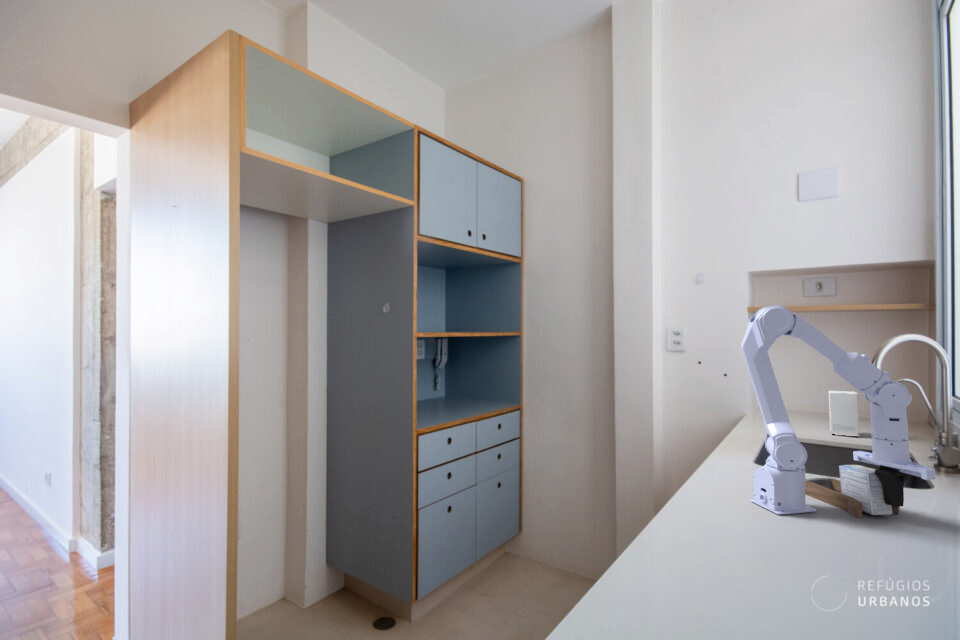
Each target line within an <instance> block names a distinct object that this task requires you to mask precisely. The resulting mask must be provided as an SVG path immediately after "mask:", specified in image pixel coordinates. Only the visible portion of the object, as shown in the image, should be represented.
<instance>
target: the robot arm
mask: <svg viewBox="0 0 960 640" xmlns="http://www.w3.org/2000/svg"><path fill="white" fill-rule="evenodd" d="M782 336H787V337H790V338H791V337H792V338H796V339H799V340H801V341H802V342H803V343H805V344H806V345H808V346H809V347H811V348H812V349H813V350H815V351H816V352H818V353H819V354H820V355H822V356H824V357H825V358H826V359H828V360H829V361H830V362H832V366H833V372H834V373H836V374H837V375H838V376H840V377H841V378H842V379H843V380H845V381H846V382H847V383H848V384H849V385H851V386H852V387H854V388H855V389H856V390H857V391H859V392H860V393H862V394H863V396H864V398H865V400H867V401H869V409H870V410H869V411H870V416H869V417H870V429H871V430H870V432H871V449H872V452H868V451H863V450H854V451H853V452H852V453H853V454H852V455H853V461H857V462H863V463H866V464H869V465H870V464H871V465H874V466H877V467H878V469H877V470H875V474H876V475H877V477H878V478H879V479H880V481H881V483H882V487H883V494H884V501H885V504H887V505H891V506H893V507H904V501H905V496H904V489H905V483H906V482H907V479H909V478H910V477H911V476H915V477H918V478H921V480H925V481H930V480H931V481H932V480H936V469H935V468H931V467H928V466H926V465H922V464H919V463H917V462H915V461H912V459H911V458H910V457H911V456H910V443H909V427H908V414H907V407H909V405H910V404H911V402H912V400H913V395H912V394H910V392H909V389H908V387H907V386H906V385H904V383H902V382H899V381H896V380H891V376H892V374H891V373H890V372H888V371H886V370H885V371H884V370H883V371H882V370H881V369H880V368H879V367H878V366H876V364H875V365H874V363H872V362H871V361H870V360H871V357H870V356H868V355H867V354H864V353H862V354H860V353H858V352H856V351H854V352H853V351H852V352H847V351H845V349H843V348H841V346H839V345H838V344H836V343H835V342H834V341H833V340H832V339H830V338H829V337H828V336H826V335H825V334H824V333H822V331H820V330H819V329H818V328H817V327H815V326H814V325H813V324H811V323H810V322H809V321H808V320H806V319H805V318H804V317H802V316H800V315H799V314H797V313H794V312H792V311H791V310H790V309H789V308H788V307H786V306H784V305H780V304H774V305H770V306H764V307H761V308H759V309H758V310H756V312H755V313H754V314H753V315H752V316H751V318H750V319H748V324H747V328H746V330H745V333H744V337H743V338H742V341H741V344H740V349H741V353H742V355H743V359H744V363H745V366H746V370H747V371H748V374H749V375H748V376H749V378H750V381H751V384H752V388H753V391H754V394H755V397H756V399H757V400H756V401H757V403H758V407H759V410H760V412H761V416H762V419H763V424H764V431H765V441H764V446H765V449H766V452H768V454H769V455H768V456H767V459H765V464H764V465H763V466H760V467H758V468H756V469H755V470H754V472H753V477H752V478H753V479H752V481H753V486H752V489H753V498H750V502H752V503H754V504H756V505H758V506H760V507H762V508H764V509H766V510H769V512H772V513H775V514H776V515H779V516H781V515H791V514H802V513H815V512H817V509H816V508H814V507H812V506H810V505H807V504H806V494H805V479H806V463H807V461H808V452H807V450H806V447H805V446H804V445H803V444H802V443H801V442H800V441H799V439H798V438H797V435H796V432H795V430H794V428H793V425H792V424H791V422H790V419H789V416H788V415H789V414H788V413H787V409H786V407H785V404H784V400H783V397H782V393H781V391H780V387H779V384H778V382H777V381H778V380H777V379H776V375H775V371H774V369H773V366H772V362H771V359H770V357H769V353H768V351H769V350H770V348H771V347H773V346H772V345H774V343H775V342H776V340H778V338H781V337H782Z"/></svg>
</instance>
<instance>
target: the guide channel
mask: <svg viewBox="0 0 960 640" xmlns="http://www.w3.org/2000/svg"><path fill="white" fill-rule="evenodd" d="M806 495H807V496H808V497H809V496H810V497H812V498H814V499H817V500H819V501H822V502H824V503H826V504H829V505H831V506H834V507H836V508H838V509H840V510H843V511H846V512H848V513H849V514H851V515H852V516H854V517H855V518H858V519H863V511H862V503H860V502H859V501H857V500H856V499H854V498H852V497H850V496H847V495H845V494H842V492H841V481H840V480H839V479H836V478H834V477H831V476H830V477H829V476H827V477H813V478H812V477H811V478H805V496H806ZM900 507H901V506H900ZM900 507H893V506H892V514H894V515H900V509H901V508H900Z"/></svg>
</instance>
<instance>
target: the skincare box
mask: <svg viewBox="0 0 960 640" xmlns="http://www.w3.org/2000/svg"><path fill="white" fill-rule="evenodd" d="M827 393H828V417H829V420H828V421H829V431H830V430H831V431H836V432H851V433H859V434H860V417H859V416H860V415H859V414H860V413H859V393H858V392H856V391H852V390H851V391H850V390H828V391H827Z"/></svg>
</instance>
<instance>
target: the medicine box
mask: <svg viewBox="0 0 960 640" xmlns="http://www.w3.org/2000/svg"><path fill="white" fill-rule="evenodd" d="M838 468H839V469H838V470H839V478H840V481H841V492H842V494H845V495H847V496H850V497H852V498H854V499H856V500H857V501H859V502H860V503H862V513H863V512H864V513H866V514H869V515H872V516H892V515H893V513H892V506H891V505H887V504H885V501H884V494H883V487H882V483H881V481H880V479H879V478H878V477H877V475H876V474H875V470H878V469H877V468H872V467H868V466H864V465H861V464H859V465H858V464H842V465H839V466H838Z"/></svg>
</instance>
